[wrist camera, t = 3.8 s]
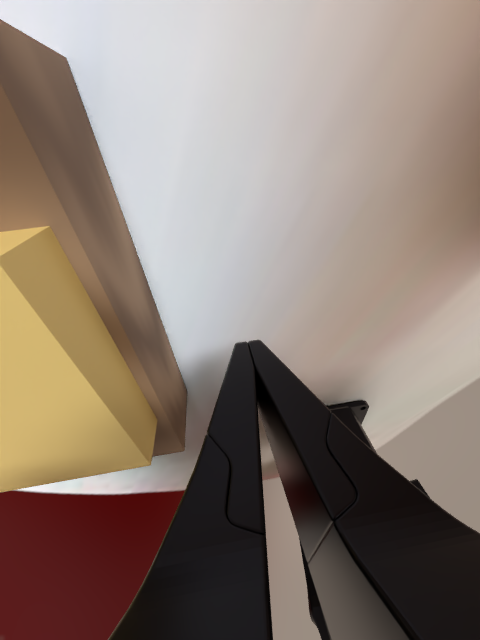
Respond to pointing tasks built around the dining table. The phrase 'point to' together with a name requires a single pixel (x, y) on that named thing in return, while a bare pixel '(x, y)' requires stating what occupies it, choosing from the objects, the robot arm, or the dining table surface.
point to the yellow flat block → (61, 374)
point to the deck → (81, 216)
